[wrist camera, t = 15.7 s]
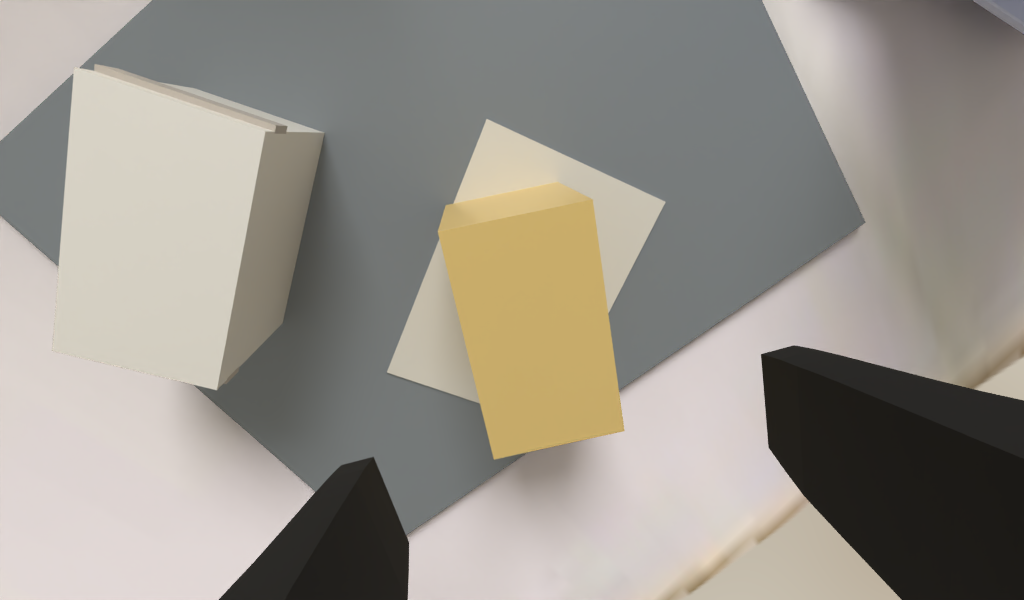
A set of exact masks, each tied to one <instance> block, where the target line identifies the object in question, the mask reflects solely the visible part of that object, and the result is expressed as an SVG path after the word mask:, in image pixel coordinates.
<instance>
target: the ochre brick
mask: <svg viewBox="0 0 1024 600" xmlns="http://www.w3.org/2000/svg"><path fill="white" fill-rule="evenodd" d="M438 235H439V239H440V243H441V247H442V251H443V255H444V259H445V263H446V267H447V271H448V275H449V279H450V283H451V288H452V292H453V296H454V300H455V304H456V308H457V312H458V316H459V320H460V324H461V328H462V332H463V336H464V340H465V344H466V348H467V352H468V357H469V361H470V365H471V369H472V373H473V377H474V381H475V385H476V389H477V393H478V397H479V401H480V405H481V409H482V413H483V417H484V421H485V426H486V430H487V434H488V438H489V442H490V446H491V450H492V454H493V458H494V460H495V459H499V458H504V457H508V456H513V455H517V454H522V453H526V452H531V451H536V450H540V449H545V448H549V447H554V446H558V445H563V444H567V443H572V442H576V441H581V440H586V439H590V438H595V437H599V436H604V435H608V434H613V433H617V432H622V431H624V425H623V417H622V410H621V403H620V395H619V388H618V381H617V373H616V366H615V359H614V351H613V344H612V337H611V329H610V322H609V315H608V307H607V300H606V292H605V285H604V278H603V270H602V263H601V256H600V248H599V241H598V234H597V226H596V219H595V212H594V204H593V199H591V198H589V197H587V196H585V195H583V194H581V193H579V192H577V191H575V190H573V189H571V188H569V187H567V186H565V185H563V184H561V183H559V182H555V183H550V184H545V185H540V186H536V187H531V188H526V189H521V190H516V191H511V192H507V193H502V194H497V195H492V196H487V197H483V198H478V199H473V200H468V201H463V202H459V203H454V204H449V205H446V206H445V209H444V212H443V216H442V219H441V223H440V226H439V229H438Z"/></svg>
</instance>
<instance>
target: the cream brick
mask: <svg viewBox="0 0 1024 600" xmlns="http://www.w3.org/2000/svg"><path fill="white" fill-rule="evenodd" d="M323 138H324V132H321V131H318V130H315V129H312V128H309V127H306V126H303V125H301V124H298V123H295V122H292V121H289V120H286V119H283V118H280V117H277V116H274V115H271V114H268V113H265V112H263V111H260V110H257V109H254V108H251V107H248V106H245V105H242V104H239V103H236V102H233V101H230V100H227V99H224V98H222V97H219V96H216V95H213V94H210V93H207V92H204V91H201V90H198V89H195V88H190V87H184V86H178V85H172V84H167V83H161V82H157V81H154V80H151V79H148V78H145V77H142V76H139V75H136V74H133V73H130V72H127V71H124V70H121V69H118V68H113V67H108V66H103V65H98V64H95V66H94V71H92V70H87V69H81V68H75V67H74V75H73V88H72V100H71V113H70V126H69V139H68V152H67V165H66V178H65V190H64V203H63V216H62V229H61V242H60V255H59V268H58V280H57V293H56V306H55V319H54V332H53V345H52V351H54V352H58V353H62V354H66V355H70V356H75V357H79V358H83V359H87V360H92V361H96V362H100V363H104V364H108V365H113V366H117V367H121V368H125V369H129V370H134V371H138V372H142V373H146V374H151V375H155V376H159V377H163V378H167V379H172V380H176V381H180V382H184V383H189V384H193V385H197V386H201V387H205V388H210V389H214V390H217V389H218V388H219V387H220V386H221V385H222V384H227V383H228V382H229V381H230V380H231V379H232V378H233V377H234V376H235V375H236V374H237V373H238V372H239V367H240V366H241V365H242V364H243V363H244V362H245V361H246V360H247V359H248V358H249V357H250V356H251V355H252V354H253V353H254V352H255V351H256V350H257V349H258V348H259V347H260V346H261V345H262V344H263V343H264V342H265V341H266V340H267V339H268V338H269V337H270V335H271V334H272V333H273V332H274V331H275V330H276V329H277V328H278V327H279V326H280V325H281V324H282V323H283V319H284V314H285V310H286V305H287V301H288V296H289V292H290V287H291V282H292V278H293V273H294V269H295V264H296V260H297V255H298V251H299V246H300V242H301V237H302V233H303V228H304V224H305V219H306V215H307V210H308V206H309V201H310V196H311V192H312V187H313V183H314V178H315V174H316V169H317V165H318V160H319V156H320V151H321V147H322V142H323Z"/></svg>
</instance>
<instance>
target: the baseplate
mask: <svg viewBox="0 0 1024 600" xmlns="http://www.w3.org/2000/svg"><path fill="white" fill-rule="evenodd" d="M95 64H98V65H103V66H108V67H113V68H118V69H121V70H124V71H127V72H130V73H133V74H136V75H139V76H142V77H145V78H148V79H151V80H154V81H157V82H161V83H167V84H172V85H178V86H184V87H190V88H195V89H198V90H201V91H204V92H207V93H210V94H213V95H216V96H219V97H222V98H224V99H227V100H230V101H233V102H236V103H239V104H242V105H245V106H248V107H251V108H254V109H257V110H260V111H263V112H265V113H268V114H271V115H274V116H277V117H280V118H283V119H286V120H289V121H292V122H295V123H298V124H301V125H303V126H306V127H309V128H312V129H315V130H318V131H321V132H324V138H323V142H322V147H321V151H320V156H319V160H318V165H317V169H316V174H315V178H314V183H313V187H312V192H311V196H310V201H309V206H308V210H307V215H306V219H305V224H304V228H303V233H302V237H301V242H300V246H299V251H298V255H297V260H296V264H295V269H294V273H293V278H292V282H291V287H290V292H289V296H288V301H287V305H286V310H285V314H284V319H283V323H282V324H281V325H280V326H279V327H278V328H277V329H276V330H275V331H274V332H273V333H272V334H271V335H270V337H269V338H268V339H267V340H266V341H265V342H264V343H263V344H262V345H261V346H260V347H259V348H258V349H257V350H256V351H255V352H254V353H253V354H252V355H251V356H250V357H249V358H248V359H247V360H246V361H245V362H244V363H243V364H242V365H241V366H240V367H239V372H238V373H237V374H236V375H235V376H234V377H233V378H232V379H231V380H230V381H229V382H228V383H227V384H222V385H221V386H220V387H219V388H218V389H217V390H214V389H210V388H205V387H201V386H197V385H194V386H196V387H197V388H198V389H199V390H200V391H201V392H202V393H204V394H205V395H206V396H207V397H208V398H209V399H210V400H212V401H213V402H214V403H215V404H216V405H217V406H218V407H220V408H221V409H222V410H223V411H224V412H225V413H226V414H228V415H229V416H230V417H231V418H232V419H233V420H234V421H235V422H237V423H238V424H239V425H240V426H241V427H242V428H243V429H245V430H246V431H247V432H248V433H249V434H250V435H251V436H253V437H254V438H255V439H256V440H257V441H258V442H259V443H261V444H262V445H263V446H264V447H265V448H266V449H267V450H269V451H270V452H271V453H272V454H273V455H274V456H275V457H277V458H278V459H279V460H280V461H281V462H282V463H283V464H285V465H286V466H287V467H288V468H289V469H290V470H291V471H293V472H294V473H295V474H296V475H297V476H298V477H299V478H301V479H302V480H303V481H304V482H305V483H306V484H307V485H309V486H310V487H311V488H312V489H313V490H314V491H315V492H316V491H317V490H318V489H319V488H320V487H321V486H322V484H323V483H324V482H325V481H326V480H327V479H328V478H329V477H330V476H331V475H332V474H333V473H334V472H335V471H336V470H337V469H338V468H339V467H340V466H341V465H344V464H348V463H351V462H355V461H359V460H363V459H366V458H370V457H374V459H375V461H376V463H377V466H378V468H379V471H380V473H381V476H382V478H383V481H384V483H385V485H386V488H387V490H388V493H389V495H390V498H391V500H392V502H393V505H394V507H395V510H396V512H397V515H398V517H399V520H400V522H401V524H402V527H403V529H404V532H405V534H406V535H407V534H408V533H410V532H411V531H413V530H414V529H416V528H417V527H419V526H420V525H422V524H423V523H425V522H426V521H428V520H429V519H430V518H432V517H433V516H435V515H436V514H438V513H439V512H441V511H442V510H444V509H445V508H447V507H448V506H450V505H451V504H453V503H454V502H455V501H457V500H458V499H460V498H461V497H463V496H464V495H466V494H467V493H469V492H470V491H472V490H473V489H475V488H476V487H477V486H479V485H480V484H482V483H483V482H485V481H486V480H488V479H489V478H491V477H492V476H494V475H495V474H497V473H498V472H500V471H501V470H502V469H504V468H505V467H507V466H508V465H510V464H511V463H513V462H514V461H516V460H517V459H519V458H520V457H522V456H523V455H525V454H526V453H527V452H526V453H522V454H517V455H513V456H508V457H504V458H499V459H495V460H494V458H493V454H492V450H491V446H490V442H489V438H488V434H487V430H486V426H485V421H484V417H483V413H482V409H481V405H480V401H479V397H478V393H477V389H476V385H475V381H474V377H473V373H472V369H471V365H470V361H469V357H468V352H467V348H466V344H465V340H464V336H463V332H462V328H461V324H460V320H459V316H458V312H457V308H456V304H455V300H454V296H453V292H452V288H451V283H450V279H449V275H448V271H447V267H446V263H445V259H444V255H443V251H442V247H441V243H440V239H439V235H438V229H439V226H440V223H441V219H442V216H443V212H444V209H445V206H446V205H449V204H454V203H459V202H463V201H468V200H473V199H478V198H483V197H487V196H492V195H497V194H502V193H507V192H511V191H516V190H521V189H526V188H531V187H536V186H540V185H545V184H550V183H555V182H559V183H561V184H563V185H565V186H567V187H569V188H571V189H573V190H575V191H577V192H579V193H581V194H583V195H585V196H587V197H589V198H591V199H593V204H594V212H595V219H596V226H597V234H598V241H599V248H600V256H601V263H602V270H603V278H604V285H605V292H606V300H607V307H608V315H609V322H610V329H611V337H612V344H613V351H614V359H615V366H616V373H617V381H618V388H619V390H620V389H622V388H623V387H624V386H626V385H627V384H629V383H630V382H632V381H633V380H635V379H636V378H638V377H639V376H641V375H642V374H644V373H645V372H647V371H648V370H649V369H651V368H652V367H654V366H655V365H657V364H658V363H660V362H661V361H663V360H664V359H666V358H667V357H669V356H670V355H672V354H673V353H674V352H676V351H677V350H679V349H680V348H682V347H683V346H685V345H686V344H688V343H689V342H691V341H692V340H694V339H695V338H696V337H698V336H699V335H701V334H702V333H704V332H705V331H707V330H708V329H710V328H711V327H713V326H714V325H716V324H717V323H719V322H720V321H721V320H723V319H724V318H726V317H727V316H729V315H730V314H732V313H733V312H735V311H736V310H738V309H739V308H741V307H742V306H744V305H745V304H746V303H748V302H749V301H751V300H752V299H754V298H755V297H757V296H758V295H760V294H761V293H763V292H764V291H766V290H767V289H769V288H770V287H771V286H773V285H774V284H776V283H777V282H779V281H780V280H782V279H783V278H785V277H786V276H788V275H789V274H791V273H792V272H793V271H795V270H796V269H798V268H799V267H801V266H802V265H804V264H805V263H807V262H808V261H810V260H811V259H813V258H814V257H816V256H817V255H818V254H820V253H821V252H823V251H824V250H826V249H827V248H829V247H830V246H832V245H833V244H835V243H836V242H838V241H839V240H841V239H842V238H843V237H845V236H846V235H848V234H849V233H851V232H852V231H854V230H855V229H857V228H858V227H860V226H861V225H863V224H864V223H865V221H864V218H863V216H862V214H861V212H860V210H859V208H858V206H857V203H856V201H855V199H854V197H853V195H852V193H851V191H850V188H849V186H848V184H847V182H846V180H845V178H844V176H843V173H842V171H841V169H840V167H839V165H838V163H837V161H836V158H835V156H834V154H833V152H832V150H831V148H830V146H829V143H828V141H827V139H826V137H825V135H824V133H823V131H822V128H821V126H820V124H819V122H818V120H817V118H816V116H815V113H814V111H813V109H812V107H811V105H810V103H809V101H808V98H807V96H806V94H805V92H804V90H803V88H802V86H801V83H800V81H799V79H798V77H797V75H796V73H795V71H794V68H793V66H792V64H791V62H790V60H789V58H788V56H787V53H786V51H785V49H784V47H783V45H782V43H781V41H780V38H779V36H778V34H777V32H776V30H775V28H774V26H773V23H772V21H771V19H770V17H769V15H768V13H767V11H766V8H765V6H764V4H763V2H762V0H152V1H151V2H150V3H149V4H148V5H147V6H146V7H145V8H144V9H143V10H141V11H140V12H139V13H138V14H137V15H136V16H135V17H134V18H133V19H132V20H131V21H130V22H128V23H127V24H126V25H125V26H124V27H123V28H122V29H121V30H120V31H119V32H118V33H117V34H116V35H114V36H113V37H112V38H111V39H110V40H109V41H108V42H107V43H106V44H105V45H104V46H103V47H102V48H100V49H99V50H98V51H97V52H96V53H95V54H94V55H93V56H92V57H91V58H90V59H89V60H88V61H86V62H85V63H84V64H83V65H82V66H81V67H80V68H81V69H87V70H92V71H94V66H95ZM73 75H74V74H72V75H71V76H70V77H69V78H68V79H67V80H66V81H65V82H64V83H63V84H62V85H61V86H60V87H58V88H57V89H56V90H55V91H54V92H53V93H52V94H51V95H50V96H49V97H48V98H47V99H45V100H44V101H43V102H42V103H41V104H40V105H39V106H38V107H37V108H36V109H35V110H34V111H33V112H31V113H30V114H29V115H28V116H27V117H26V118H25V119H24V120H23V121H22V122H21V123H20V124H19V125H17V126H16V127H15V128H14V129H13V130H12V131H11V132H10V133H9V134H8V135H7V136H6V137H5V138H3V139H2V140H1V141H0V216H2V217H3V218H4V219H5V220H6V221H7V222H8V223H10V224H11V225H12V226H13V227H14V228H15V229H16V230H18V231H19V232H20V233H21V234H22V235H23V236H24V237H25V238H27V239H28V240H29V241H30V242H31V243H32V244H33V245H35V246H36V247H37V248H38V249H39V250H40V251H41V252H43V253H44V254H45V255H46V256H47V257H48V258H49V259H51V260H52V261H53V262H54V263H55V264H56V265H57V266H59V255H60V242H61V229H62V216H63V203H64V190H65V178H66V165H67V152H68V139H69V126H70V113H71V100H72V88H73Z"/></svg>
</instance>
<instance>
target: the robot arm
mask: <svg viewBox="0 0 1024 600" xmlns="http://www.w3.org/2000/svg"><path fill="white" fill-rule="evenodd" d="M973 1H974V2H976V3H977V4H979V5H980V6H982V7H983V8H985V9H986V10H988V11H989V12H991V13H992V14H994V15H995V16H997V17H998V18H1000V19H1001V20H1003V21H1004V22H1006V23H1007V24H1009V25H1010V26H1012V27H1013V28H1015V29H1016V30H1018V31H1019V32H1021V33H1022V34H1024V0H973ZM761 358H762V370H763V383H764V395H765V408H766V420H767V433H768V445H769V449H770V450H771V451H772V453H773V454H774V456H775V457H776V458H777V460H778V461H779V463H780V464H781V465H782V467H783V468H784V470H785V471H786V472H787V474H788V475H789V476H790V478H791V479H792V480H793V482H794V483H795V484H796V486H797V487H798V488H799V490H800V491H801V492H802V494H803V495H804V496H805V497H806V498H807V499H808V501H809V502H810V503H811V504H812V505H813V506H814V507H815V508H816V509H817V510H818V511H819V513H820V514H822V516H823V517H824V518H825V519H826V520H827V521H828V522H829V523H830V524H831V525H832V526H833V528H835V530H836V531H837V532H838V533H839V534H840V535H841V536H842V537H843V538H844V539H845V540H846V541H847V542H848V543H849V544H850V546H852V548H853V549H854V550H855V551H856V552H857V553H858V554H859V555H860V556H861V557H862V558H863V559H864V560H865V561H866V562H867V563H868V564H869V566H870V567H871V568H872V569H873V570H874V571H875V572H876V573H877V574H878V575H879V576H880V577H881V578H882V579H883V580H884V581H885V582H886V584H887V585H889V587H890V588H891V589H892V590H893V591H894V592H895V593H896V594H897V595H898V596H899V597H900V598H901V599H902V600H1024V401H1023V400H1018V399H1014V398H1010V397H1005V396H1000V395H996V394H991V393H987V392H982V391H978V390H974V389H970V388H966V387H961V386H957V385H953V384H949V383H945V382H941V381H937V380H933V379H929V378H925V377H921V376H917V375H913V374H909V373H906V372H902V371H898V370H894V369H890V368H886V367H883V366H879V365H875V364H871V363H867V362H864V361H860V360H856V359H852V358H848V357H844V356H840V355H836V354H832V353H828V352H824V351H820V350H815V349H810V348H805V347H800V346H791V347H787V348H783V349H779V350H775V351H772V352H768V353H764V354H761ZM408 574H409V541H408V539H407V537H406V534H405V532H404V529H403V527H402V524H401V522H400V520H399V517H398V515H397V512H396V510H395V507H394V505H393V502H392V500H391V498H390V495H389V493H388V490H387V488H386V485H385V483H384V481H383V478H382V476H381V473H380V471H379V468H378V466H377V463H376V461H375V459H374V457H370V458H366V459H363V460H359V461H355V462H351V463H348V464H344V465H341V466H340V467H339V468H338V469H337V470H336V471H335V472H334V473H333V474H332V475H331V476H330V477H329V478H328V479H327V480H326V481H325V482H324V483H323V484H322V486H321V487H320V488H319V489H318V490H317V491H316V492H315V493H314V495H313V496H312V497H311V498H310V499H309V500H308V501H307V503H306V504H305V505H304V506H303V507H302V508H301V509H300V511H299V512H298V513H297V514H296V515H295V516H294V518H293V519H292V520H291V521H290V522H289V523H288V524H287V525H286V527H285V528H284V529H283V530H282V531H281V532H280V533H279V535H278V536H277V537H276V538H275V539H274V540H273V541H272V542H271V544H270V545H269V546H268V547H267V548H266V549H265V550H264V552H263V553H262V554H261V555H260V556H259V557H258V558H257V559H256V561H255V562H254V563H253V564H252V565H251V566H250V567H249V568H248V569H247V570H246V571H245V572H244V573H243V574H242V576H241V577H240V578H239V579H238V580H237V581H236V582H235V583H234V584H233V585H232V586H231V587H230V588H229V589H228V590H227V591H226V593H225V594H224V595H223V596H222V597H221V598H220V599H219V600H407V599H408Z"/></svg>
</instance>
